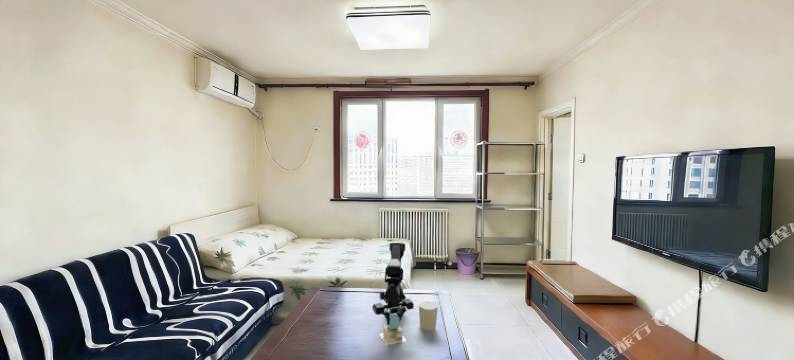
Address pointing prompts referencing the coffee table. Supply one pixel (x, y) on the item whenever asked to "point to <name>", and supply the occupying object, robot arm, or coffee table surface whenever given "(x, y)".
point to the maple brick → (392, 334)
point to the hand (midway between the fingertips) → (392, 324)
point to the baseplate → (391, 342)
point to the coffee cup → (428, 316)
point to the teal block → (393, 321)
